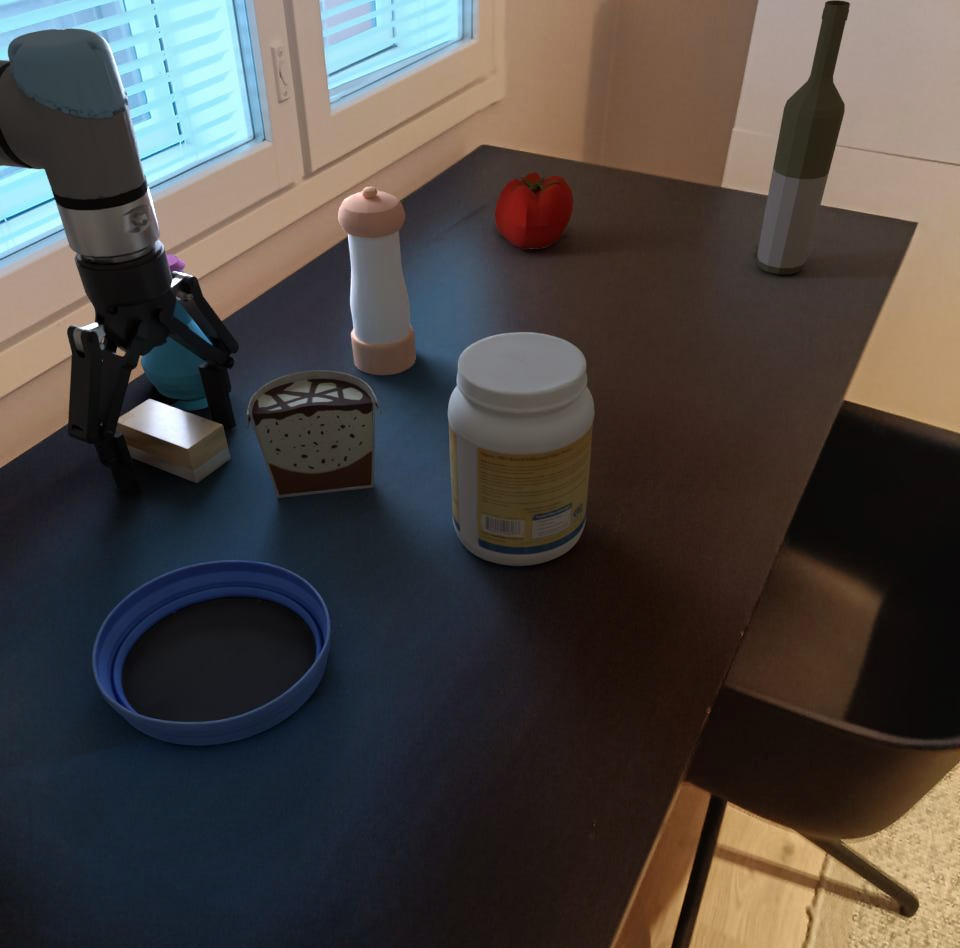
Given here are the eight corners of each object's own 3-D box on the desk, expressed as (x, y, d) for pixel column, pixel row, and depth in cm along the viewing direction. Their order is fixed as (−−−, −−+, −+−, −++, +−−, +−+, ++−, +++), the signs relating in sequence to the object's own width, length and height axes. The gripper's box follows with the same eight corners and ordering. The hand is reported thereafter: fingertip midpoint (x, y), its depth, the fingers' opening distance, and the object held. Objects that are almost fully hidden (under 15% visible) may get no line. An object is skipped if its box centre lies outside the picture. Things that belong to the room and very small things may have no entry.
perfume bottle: (160, 424, 99) (120, 287, 88) (145, 384, 105) (106, 252, 94) (245, 405, 101) (216, 270, 91) (225, 367, 107) (196, 236, 97)
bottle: (766, 281, 122) (824, 11, 101) (743, 260, 127) (794, -2, 105) (815, 275, 123) (882, 7, 102) (791, 254, 128) (850, -6, 107)
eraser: (124, 455, 95) (112, 421, 92) (159, 431, 98) (149, 398, 95) (197, 483, 91) (187, 449, 88) (231, 458, 94) (222, 424, 91)
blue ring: (95, 774, 66) (80, 743, 64) (113, 606, 79) (100, 575, 76) (346, 732, 69) (341, 701, 66) (325, 576, 81) (319, 545, 79)
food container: (383, 451, 95) (374, 361, 88) (389, 485, 91) (380, 394, 84) (261, 463, 94) (242, 373, 86) (261, 499, 89) (241, 408, 82)
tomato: (575, 231, 134) (579, 167, 128) (562, 262, 127) (566, 196, 121) (504, 225, 136) (504, 162, 130) (487, 255, 129) (487, 190, 123)
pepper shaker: (347, 350, 110) (327, 180, 96) (407, 340, 111) (394, 171, 98) (361, 380, 105) (341, 205, 91) (423, 369, 107) (412, 195, 93)
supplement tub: (611, 528, 86) (631, 360, 74) (521, 591, 79) (526, 419, 68) (515, 475, 92) (518, 311, 80) (425, 530, 86) (414, 362, 74)
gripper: (30, 313, 71) (113, 533, 85) (247, 205, 86) (285, 408, 101) (-34, 293, 73) (57, 509, 88) (187, 191, 88) (233, 391, 103)
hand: (179, 456), depth 94 cm, fingers open, 13 cm apart
